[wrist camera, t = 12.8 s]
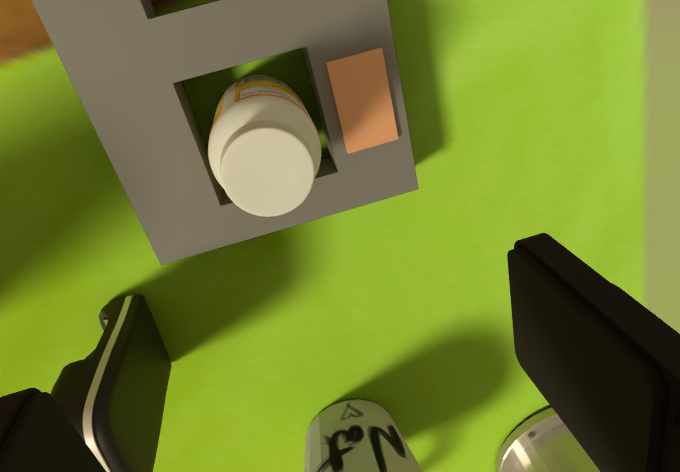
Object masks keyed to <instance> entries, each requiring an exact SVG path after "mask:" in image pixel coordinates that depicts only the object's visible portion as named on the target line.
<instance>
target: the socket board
mask: <svg viewBox="0 0 680 472" xmlns="http://www.w3.org/2000/svg"><path fill="white" fill-rule="evenodd" d="M32 2H33V4H34V6H35V8H36V10H37V12H38V14H39V16H40V18H41V21H42V23H43V25H44V27H45V29H46V31H47V33H48V35H49V37H50V39H51V41H52V43H53V45H54V47H55V49H56V51H57V53H58V55H59V57H60V59H61V61H62V63H63V66H64V68H65V70H66V72H67V74H68V76H69V78H70V80H71V82H72V84H73V86H74V88H75V90H76V92H77V94H78V96H79V98H80V100H81V102H82V104H83V106H84V108H85V110H86V113H87V115H88V117H89V119H90V121H91V123H92V125H93V127H94V129H95V131H96V133H97V135H98V137H99V139H100V141H101V143H102V145H103V147H104V149H105V151H106V153H107V155H108V158H109V160H110V162H111V164H112V166H113V168H114V170H115V172H116V174H117V176H118V178H119V180H120V182H121V184H122V186H123V188H124V190H125V192H126V194H127V196H128V198H129V200H130V202H131V205H132V207H133V209H134V211H135V213H136V215H137V217H138V219H139V221H140V223H141V225H142V227H143V229H144V231H145V233H146V235H147V237H148V239H149V241H150V243H151V245H152V247H153V250H154V252H155V254H156V256H157V258H158V260H159V262H160V264H161V265H163V264H167V263H170V262H173V261H177V260H180V259H184V258H187V257H190V256H194V255H197V254H200V253H204V252H207V251H211V250H214V249H217V248H221V247H224V246H228V245H231V244H234V243H238V242H241V241H245V240H248V239H251V238H255V237H258V236H261V235H265V234H268V233H272V232H275V231H278V230H282V229H285V228H289V227H292V226H295V225H299V224H302V223H305V222H309V221H312V220H316V219H319V218H322V217H326V216H329V215H333V214H336V213H339V212H343V211H346V210H349V209H353V208H356V207H360V206H363V205H366V204H370V203H373V202H377V201H380V200H383V199H387V198H390V197H394V196H397V195H400V194H404V193H407V192H410V191H414V190H417V189H419V188H418V182H417V176H416V170H415V164H414V158H413V152H412V146H411V140H410V134H409V128H408V123H407V117H406V111H405V105H404V99H403V93H402V87H401V81H400V75H399V69H398V63H397V57H396V51H395V45H394V39H393V33H392V27H391V21H390V15H389V9H388V3H387V0H219V1H215V2H211V3H208V4H204V5H200V6H196V7H193V8H189V9H185V10H181V11H178V12H174V13H170V14H167V15H163V16H159V17H157V15H156V12H155V9H154V7H153V4H152V2H151V0H32ZM299 48H302V50H303V54H304V57H305V61H306V65H307V69H308V73H309V77H310V81H311V85H312V89H313V93H314V97H315V101H316V104H317V108H318V112H319V116H320V120H321V124H322V128H323V132H324V136H325V140H326V144H327V148H328V151H329V155H330V157H327V158H324V159H321V162H320V166H319V169H318V172H317V175H316V176H315V178H314V182H313V186H312V188H311V191H310V192H309V194H308V196H307V197H306V199H305V200H304V201H303V202H302V203H301V204H300V205H299V206H298V207H296V208H295V209H293V210H292V211H290V212H288V213H285V214H282V215H278V216H270V217H265V216H258V215H254V214H251V213H249V212H246V211H244V210H242V209H241V208H240V207H238V206H237V205H236V204H235V203H234V202H233V201H232V200H231V199H230V198H229V197H228V195H227V193H226V192H225V190H224V188H222V186H221V185H220V184H219V182H218V181H217V179H216V178H215V176H214V174H213V171H212V169H211V166H210V162H209V157H208V149H207V146H206V143H205V141H204V138H203V135H202V133H201V130H200V128H199V125H198V122H197V120H196V117H195V114H194V112H193V109H192V107H191V104H190V101H189V99H188V96H187V93H186V91H185V88H184V86H183V83H182V81H183V80H186V79H190V78H193V77H197V76H201V75H204V74H208V73H212V72H215V71H219V70H223V69H226V68H230V67H233V66H237V65H241V64H244V63H248V62H252V61H255V60H259V59H263V58H266V57H270V56H273V55H277V54H281V53H284V52H288V51H292V50H295V49H299Z"/></svg>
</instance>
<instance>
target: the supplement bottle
mask: <svg viewBox="0 0 680 472" xmlns="http://www.w3.org/2000/svg"><path fill="white" fill-rule="evenodd" d="M208 157H209V162H210V166H211V169H212V171H213V174H214V176H215V178H216V179H217V181H218V182H219V184H220V185H221V186H222V187H223V188H224V190H225V192H226V193H227V195H228V197H229V198H230V199H231V200H232V201H233V202H234V203H235V204H236V205H237V206H238V207H240V208H241V209H242V210H244V211H246V212H249V213H251V214H254V215H258V216H265V217H270V216H278V215H282V214H285V213H288V212H290V211H292V210H293V209H295V208H296V207H298V206H299V205H300V204H301V203H302V202H303V201H304V200H305V199H306V197H307V196H308V194H309V192H310V191H311V188H312V186H313V182H314V178H315V176H316V175H317V172H318V169H319V166H320V162H321V143H320V138H319V135H318V132H317V130H316V127H315V125H314V123H313V121H312V119H311V117H310V116H309V114H308V112H307V110H306V108H305V106H304V104H303V102H302V100H301V99H300V97H299V96H298V94H297V93H296V92H295V91H294V90H293V89H292V88H291V87H290V86H289V85H288V84H286V83H285V82H283V81H281V80H279V79H277V78H274V77H271V76H265V75H253V76H248V77H245V78H242V79H240V80H238V81H236V82H235V83H233V84H232V85H231V86H230V87H229V88H228V89H227V90H226V91H225V92H224V94H223V95H222V97H221V99H220V100H219V103H218V106H217V109H216V113H215V117H214V122H213V125H212V129H211V133H210V136H209V144H208Z"/></svg>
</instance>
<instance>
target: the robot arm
mask: <svg viewBox="0 0 680 472" xmlns="http://www.w3.org/2000/svg"><path fill="white" fill-rule="evenodd" d="M508 270H509V282H510V295H511V307H512V320H513V332H514V345H515V353H516V356H517V359H518V361H519V363H520V365H521V367H522V368H523V370H524V371H525V372H526V374H527V375H528V376H529V378H530V379H531V380H532V382H533V383H534V384H535V385H536V387H537V388H538V389H539V391H540V392H541V393H542V395H543V396H544V397H545V399H546V400H547V401H548V403H549V404H550V405H551V408H548V409H546V410H544V411H542V412H540V413H537V414H536V415H534V416H532V417H531V418H529V419H528V420H526V421H525V422H523V423H522V424H521V425H520V426H519V427H517V428H516V429H515V430H514V431H513V432H512V433H511V434H510V435H509V437H508V438H507V439H506V441H505V442H504V444H503V445H502V447H501V449H500V451H499V453H498V456H497V460H496V472H680V334H679V333H678V332H676V331H675V330H674V329H672V328H671V327H670V326H668V325H667V324H666V323H664V322H663V321H662V320H661V319H660V318H658V317H657V316H656V315H654V314H653V313H652V312H650V311H649V310H648V309H647V308H645V307H644V306H643V305H641V304H640V303H639V302H637V301H636V300H635V299H634V298H632V297H631V296H630V295H628V294H627V293H626V292H624V291H623V290H622V289H621V288H619V287H617V286H616V285H614V284H612V283H610V282H609V281H607V280H606V279H605V278H604V277H602V276H601V275H600V274H598V273H597V272H596V271H594V270H593V269H592V268H591V267H589V266H588V265H587V264H585V263H584V262H583V261H582V260H580V259H579V258H578V257H576V256H575V255H574V254H573V253H571V252H570V251H569V250H567V249H566V248H565V247H564V246H562V245H561V244H560V243H558V242H557V241H556V240H555V239H553V238H552V237H551V236H549V235H548V234H546V233H541V234H538V235H534V236H531V237H528V238H524V239H521V240H518V241H516V242H515V245H514V249H513V250H510V251H509V252H508ZM0 472H106V470H105V469H104V468H103V466H102V465H101V463H100V462H99V461H98V459H97V458H96V457H95V455H94V454H93V452H92V451H91V450H90V448H89V447H88V446H87V444H86V443H85V441H84V440H83V439H82V437H81V436H80V434H79V433H78V432H77V430H76V429H75V428H74V426H73V425H72V423H71V422H70V421H69V419H68V418H67V417H66V415H65V414H64V412H63V411H62V410H61V408H60V407H59V406H58V404H57V403H56V401H55V400H54V399H53V397H52V396H51V395H50V394H49V393H47V392H41V391H40V390H38V389H36V388H29V389H26V390H22V391H19V392H16V393H12V394H9V395H6V396H3V397H1V398H0Z"/></svg>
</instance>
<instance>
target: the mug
mask: <svg viewBox="0 0 680 472" xmlns="http://www.w3.org/2000/svg"><path fill="white" fill-rule="evenodd" d="M305 472H423V471H422V469H421V468H420V466H419V464H418V462H417V461H416V459H415V457H414V455H413V454H412V452H411V450H410V449H409V447H408V445H407V443H406V442H405V440H404V438H403V436H402V435H401V433H400V431H399V430H398V428H397V426H396V424H395V423H394V421H393V419H392V417H391V416H390V414H389V413H388V412H387V411H386V410H385V409H384V408H383V407H382V406H380V405H378V404H376V403H374V402H372V401H367V400H359V399H356V400H347V401H342V402H340V403H337V404H334V405H331V406H329V407H328V408H326V409H325V410H323V411H322V412H320V413H319V414H318V415H317V416H316V417H315V419H314V420H313V421H312V422H311V424H310V426H309V429H308V431H307V433H306V446H305Z"/></svg>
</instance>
